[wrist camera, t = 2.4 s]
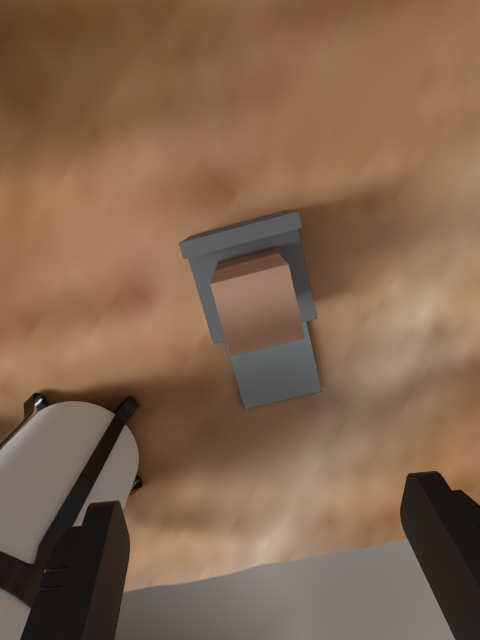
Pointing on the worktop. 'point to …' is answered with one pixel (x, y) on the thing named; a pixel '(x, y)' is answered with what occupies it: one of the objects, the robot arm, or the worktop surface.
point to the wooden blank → (256, 301)
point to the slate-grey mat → (276, 372)
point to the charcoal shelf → (243, 240)
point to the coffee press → (56, 489)
